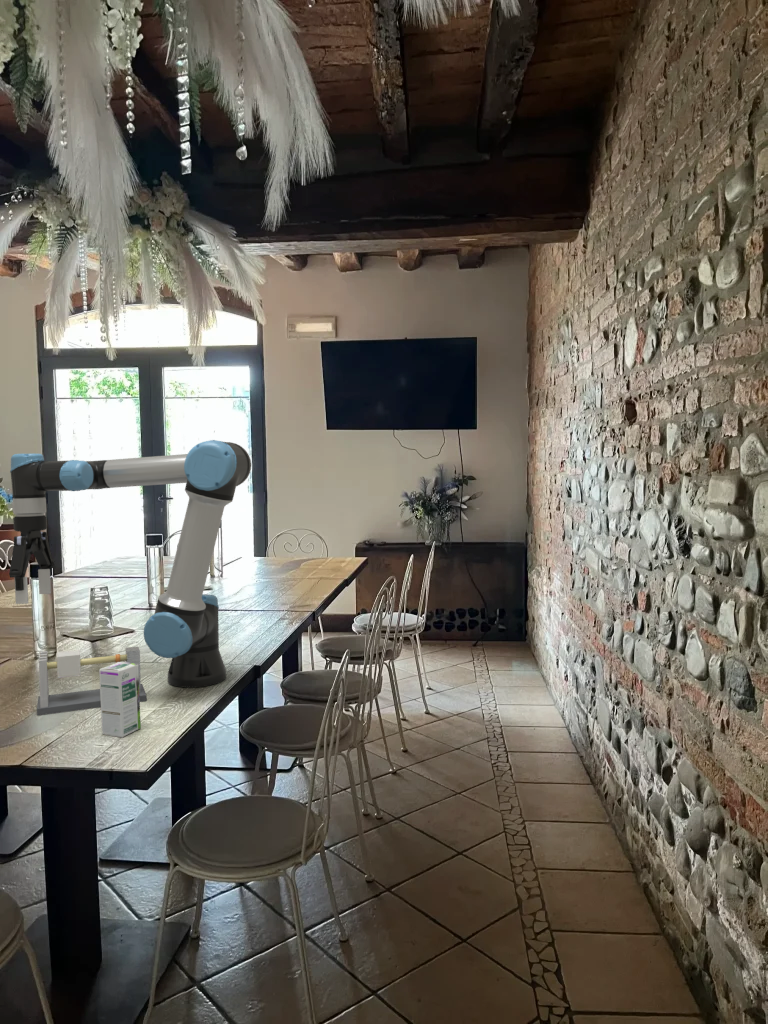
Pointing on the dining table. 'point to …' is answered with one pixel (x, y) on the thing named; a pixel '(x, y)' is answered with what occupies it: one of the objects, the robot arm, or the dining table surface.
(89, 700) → the cable comb board
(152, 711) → the dining table surface
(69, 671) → the sleeve
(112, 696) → the syrup box
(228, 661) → the dining table surface
